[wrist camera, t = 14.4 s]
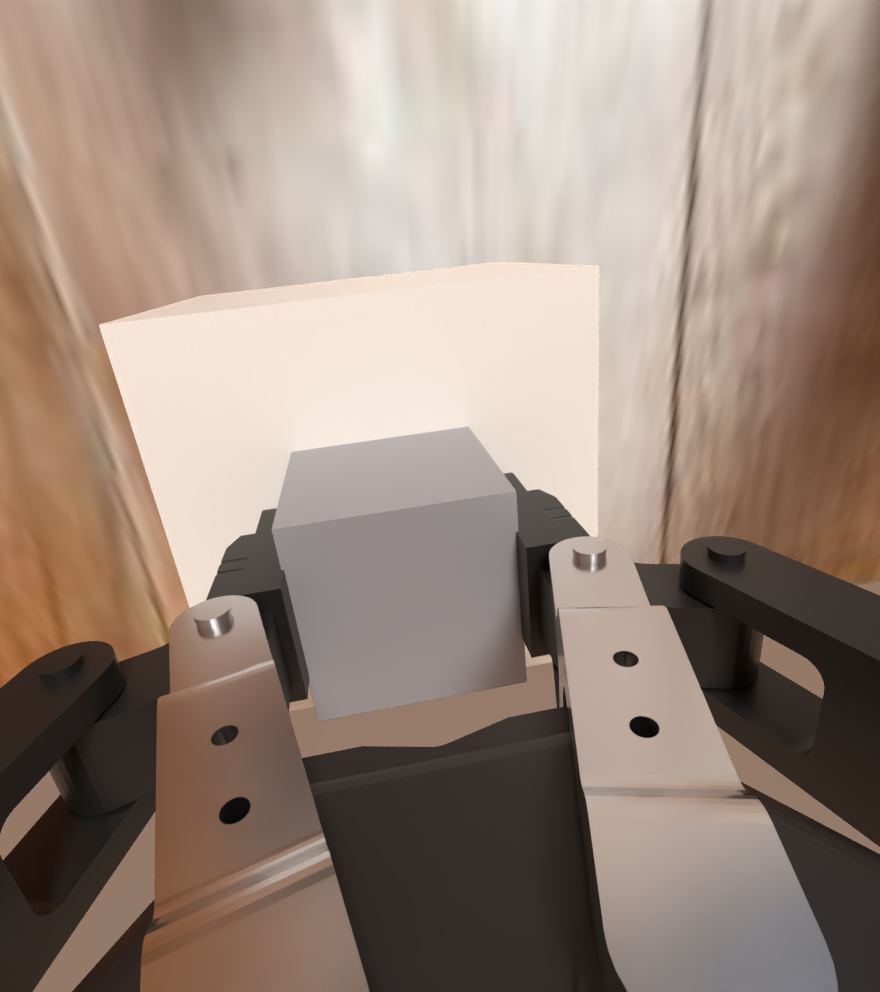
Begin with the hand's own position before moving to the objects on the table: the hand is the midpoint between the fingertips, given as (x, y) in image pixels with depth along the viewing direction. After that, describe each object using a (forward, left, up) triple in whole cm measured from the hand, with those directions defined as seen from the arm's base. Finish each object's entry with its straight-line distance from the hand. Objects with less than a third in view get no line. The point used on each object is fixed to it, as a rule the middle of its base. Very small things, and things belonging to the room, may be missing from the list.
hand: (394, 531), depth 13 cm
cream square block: (0, 0, -10) cm, 10 cm away
